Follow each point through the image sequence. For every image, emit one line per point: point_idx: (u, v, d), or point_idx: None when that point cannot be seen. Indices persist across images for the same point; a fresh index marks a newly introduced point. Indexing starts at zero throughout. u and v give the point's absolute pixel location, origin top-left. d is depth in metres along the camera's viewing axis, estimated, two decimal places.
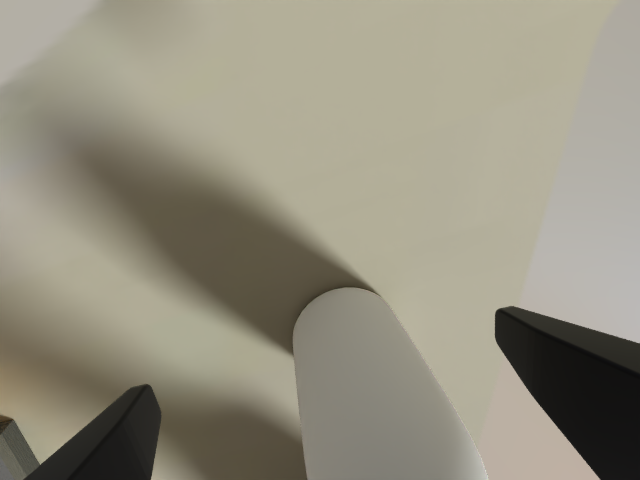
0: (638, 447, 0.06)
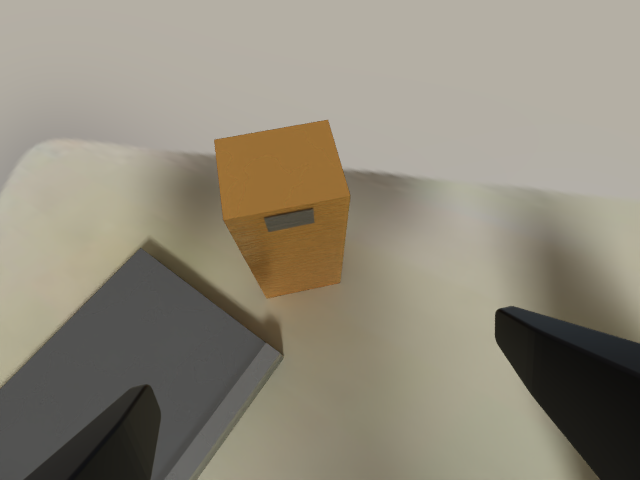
0: (638, 447, 0.06)
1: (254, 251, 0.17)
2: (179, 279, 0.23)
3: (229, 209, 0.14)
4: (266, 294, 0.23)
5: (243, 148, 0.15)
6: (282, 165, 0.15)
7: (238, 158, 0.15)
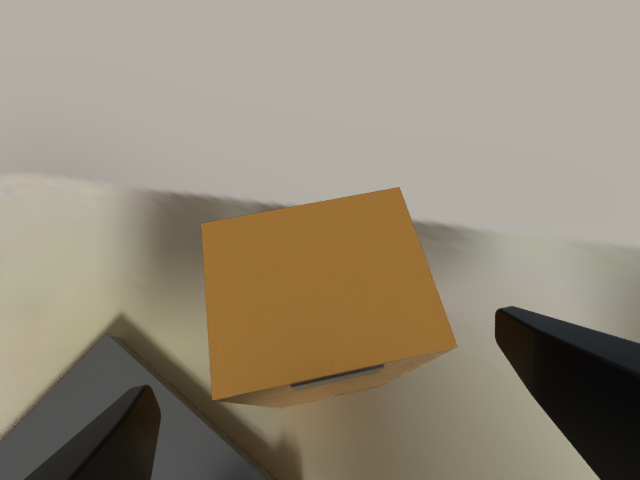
0: (638, 447, 0.06)
1: (268, 399, 0.10)
2: (157, 383, 0.16)
3: (224, 374, 0.07)
4: (280, 407, 0.16)
5: (252, 241, 0.08)
6: (323, 277, 0.08)
7: (243, 261, 0.08)
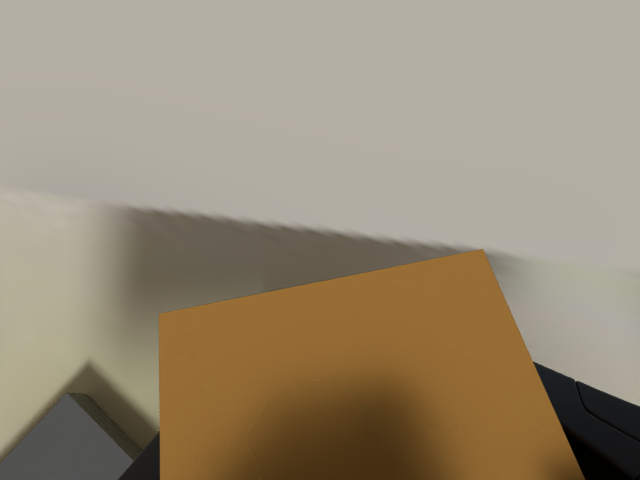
0: None
1: None
2: (128, 461, 0.13)
3: None
4: None
5: (244, 348, 0.05)
6: (369, 422, 0.05)
7: (228, 388, 0.05)
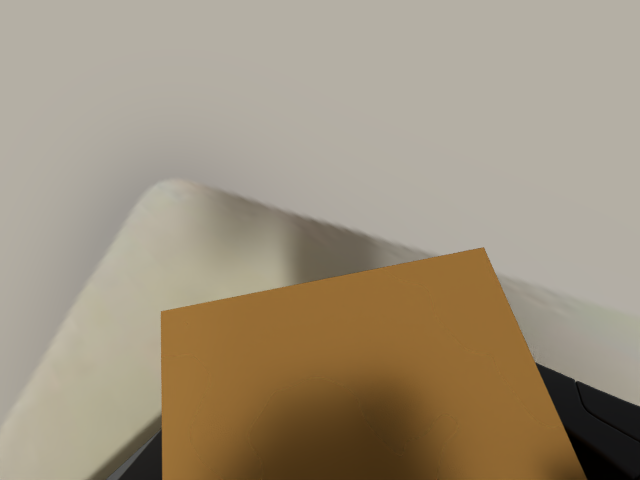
0: None
1: None
2: None
3: None
4: None
5: (246, 346, 0.05)
6: (370, 419, 0.05)
7: (230, 385, 0.05)
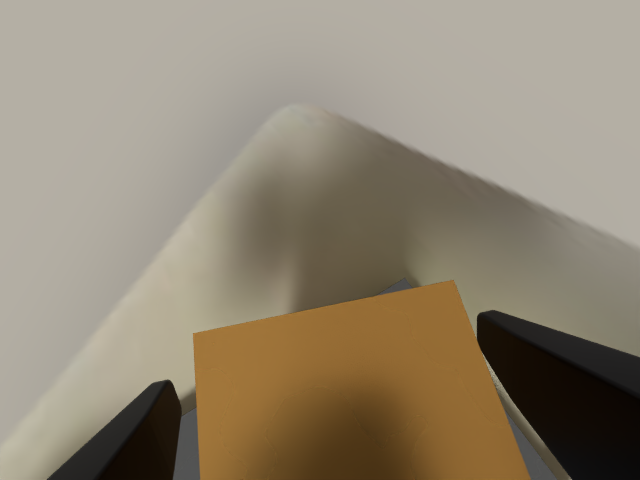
0: (611, 454, 0.06)
1: None
2: None
3: None
4: None
5: (262, 362, 0.06)
6: (360, 420, 0.06)
7: (250, 393, 0.06)
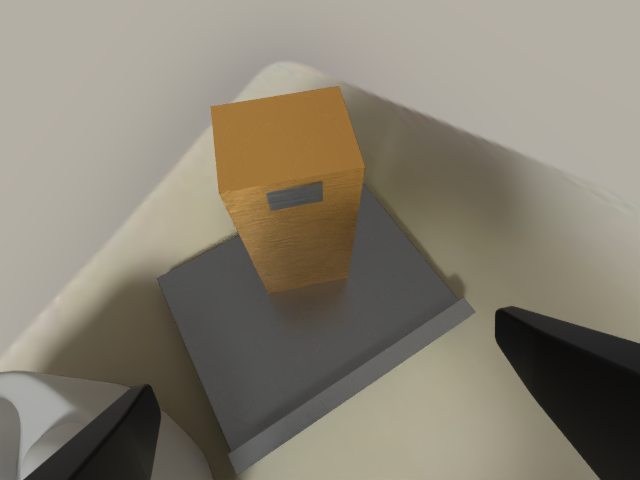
0: (638, 447, 0.06)
1: (255, 235, 0.15)
2: (385, 213, 0.24)
3: (226, 181, 0.12)
4: (268, 288, 0.21)
5: (243, 115, 0.13)
6: (287, 134, 0.13)
7: (237, 126, 0.13)
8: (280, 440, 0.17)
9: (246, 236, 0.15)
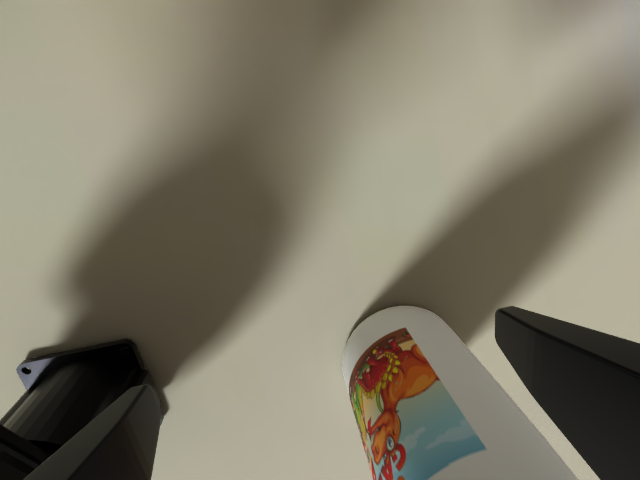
0: (638, 447, 0.06)
1: None
2: None
3: None
4: None
5: None
6: None
7: None
8: None
9: None
